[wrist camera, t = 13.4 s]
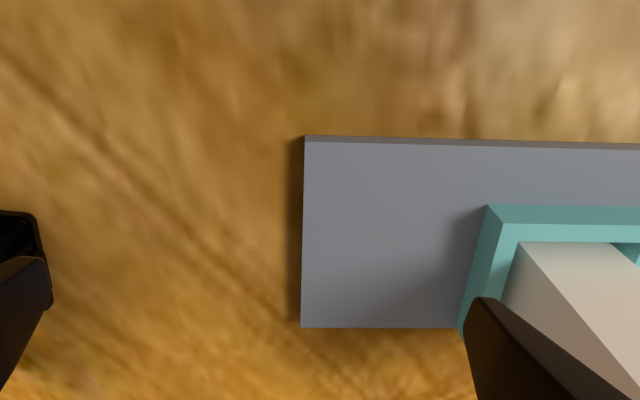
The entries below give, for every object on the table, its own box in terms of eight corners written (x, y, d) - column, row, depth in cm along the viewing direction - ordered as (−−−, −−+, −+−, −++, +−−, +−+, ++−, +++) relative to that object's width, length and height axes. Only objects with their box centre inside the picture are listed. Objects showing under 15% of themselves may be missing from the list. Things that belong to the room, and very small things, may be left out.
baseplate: (300, 316, 26) (300, 353, 24) (304, 135, 21) (305, 157, 18) (589, 317, 27) (620, 353, 25) (666, 144, 22) (717, 166, 19)
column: (491, 303, 25) (657, 586, 13) (511, 233, 23) (734, 500, 11) (571, 303, 25) (804, 581, 14) (599, 234, 23) (910, 496, 11)
